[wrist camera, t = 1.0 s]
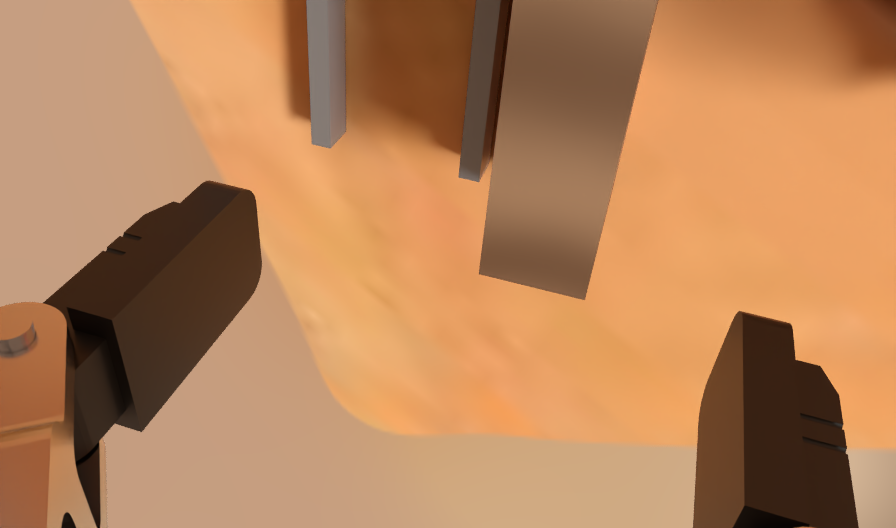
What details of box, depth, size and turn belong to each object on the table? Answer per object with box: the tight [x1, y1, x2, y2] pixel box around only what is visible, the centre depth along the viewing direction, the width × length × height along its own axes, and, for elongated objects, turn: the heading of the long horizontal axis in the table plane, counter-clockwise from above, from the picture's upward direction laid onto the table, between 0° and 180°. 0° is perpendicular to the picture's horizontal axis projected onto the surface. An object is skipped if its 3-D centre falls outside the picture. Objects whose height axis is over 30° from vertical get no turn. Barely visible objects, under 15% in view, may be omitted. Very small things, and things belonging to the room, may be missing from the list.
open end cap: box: [306, 0, 510, 182], centre depth 27 cm, size 10×7×2 cm
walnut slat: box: [479, 0, 658, 300], centre depth 22 cm, size 14×3×7 cm, turn 176°
